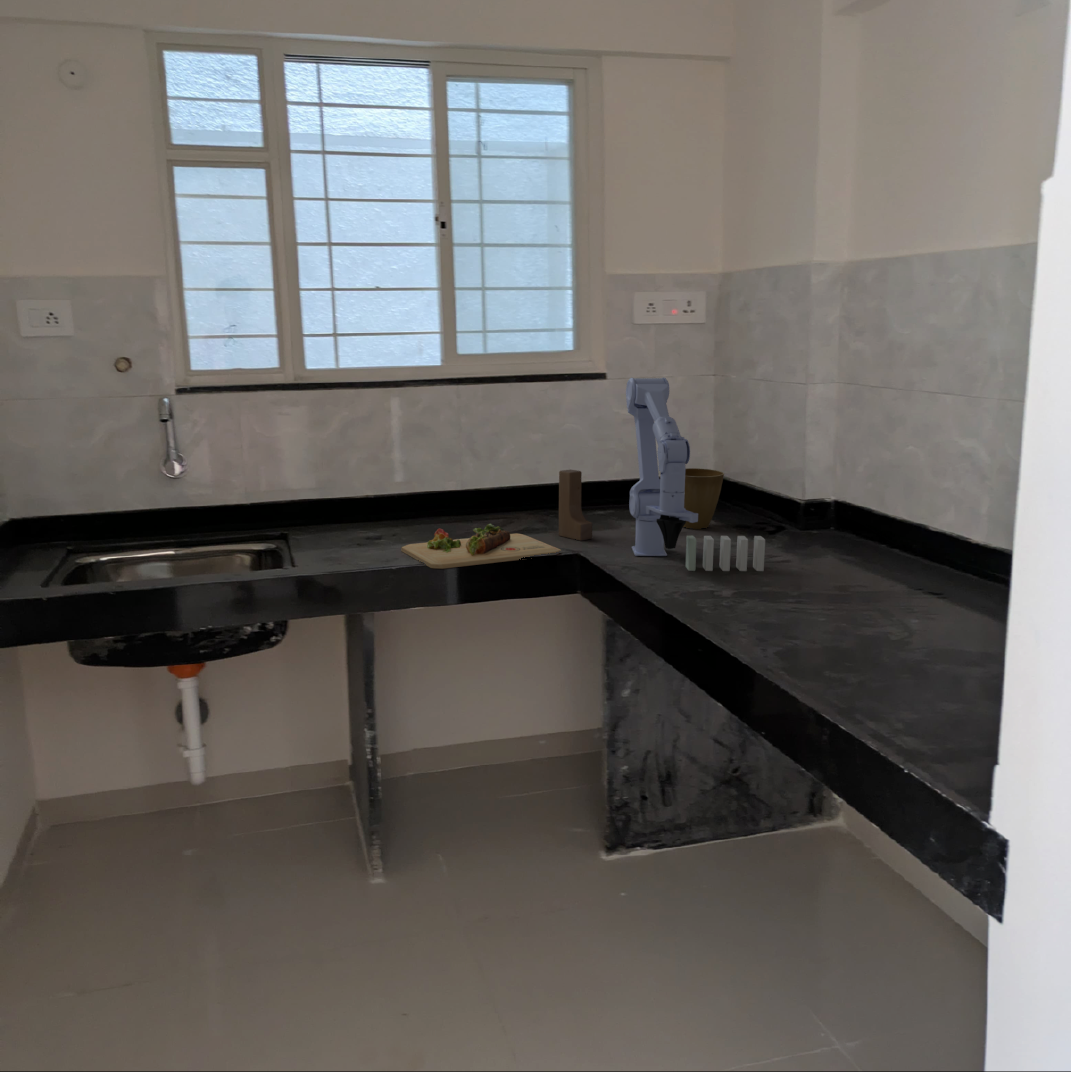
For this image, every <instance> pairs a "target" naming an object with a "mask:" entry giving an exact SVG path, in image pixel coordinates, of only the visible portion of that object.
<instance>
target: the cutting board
mask: <svg viewBox="0 0 1071 1072" xmlns="http://www.w3.org/2000/svg"><path fill="white" fill-rule="evenodd" d="M472 531H473V532H474V533H475V534H474V535H472V536H471V537H469V538H456V539H453V538H451V537H450V535H449V533H448V532H446V531H445V530H444V529H442V528H438V529H437V530H436V531H435V532H434V537H433V539H431V540H430V539H429V540H428V541H427V542H419V543H410V544H409V543H408V544H406V545H403V546H401V549H400V550H401V552H402V553H404V554H406V555H407V556H410V557H411V558H413V559H414V560H416V561H418V560H419V561H418V562H420V561H421V562H424V563H425V564H426V565H425V564H424V565H425V566H427V567H428V568H430V569H440V570H441V569H443V570H444V569H452V568H458V567H459V568H460V567H469V566H476V565H477V566H478V565H486V564H487V565H488V564H494V563H502V562H503V563H504V562H505V563H506V562H513V561H519V559H520V560H521V558H523V557H524V558H525V557H530V556H534V555H541V554H548V553H549V554H550V553H556V552H559V551H561V552H562V550H561V549H560V548H558V547H555V546H554V545H550V544H548V543H545V542H543V541H540V540H538V539H536V538H534V537H531V536H528V535H526V534H522V533H510V531H508V530H505V529H503V528H502V527H501V526H495V525H493V524H492V523H487V525H486V526H485V527H484V529H482V527H478V528H477V527H475V528H473V529H472ZM521 561H522V560H521ZM421 562H420V563H421Z"/></svg>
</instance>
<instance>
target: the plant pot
mask: <svg viewBox="0 0 1071 1072" xmlns="http://www.w3.org/2000/svg"><path fill="white" fill-rule="evenodd" d="M724 475H725V473H724V472H723V471H720V470H716V469H711V468H697V467H696V468H694V467H693V468H687V467H686V468H685V495H684V508H685V510H687V511H690V512H693V513H697V514H698V522H694V523H691V522H689V521H686V523H685V525H684V526H683V528H684V527H686V528H685V529H687V528H693V529H692V530H702V529H701V528H706V529H708V528H709V526H710V524H711V521H712V519H713V516H714V514H715V511H716V508H717V506H718V505H717V504H718V502H719V498H720V496H721V491H722V485H723V481H724V477H725V476H724ZM707 527H708V528H707Z"/></svg>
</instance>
